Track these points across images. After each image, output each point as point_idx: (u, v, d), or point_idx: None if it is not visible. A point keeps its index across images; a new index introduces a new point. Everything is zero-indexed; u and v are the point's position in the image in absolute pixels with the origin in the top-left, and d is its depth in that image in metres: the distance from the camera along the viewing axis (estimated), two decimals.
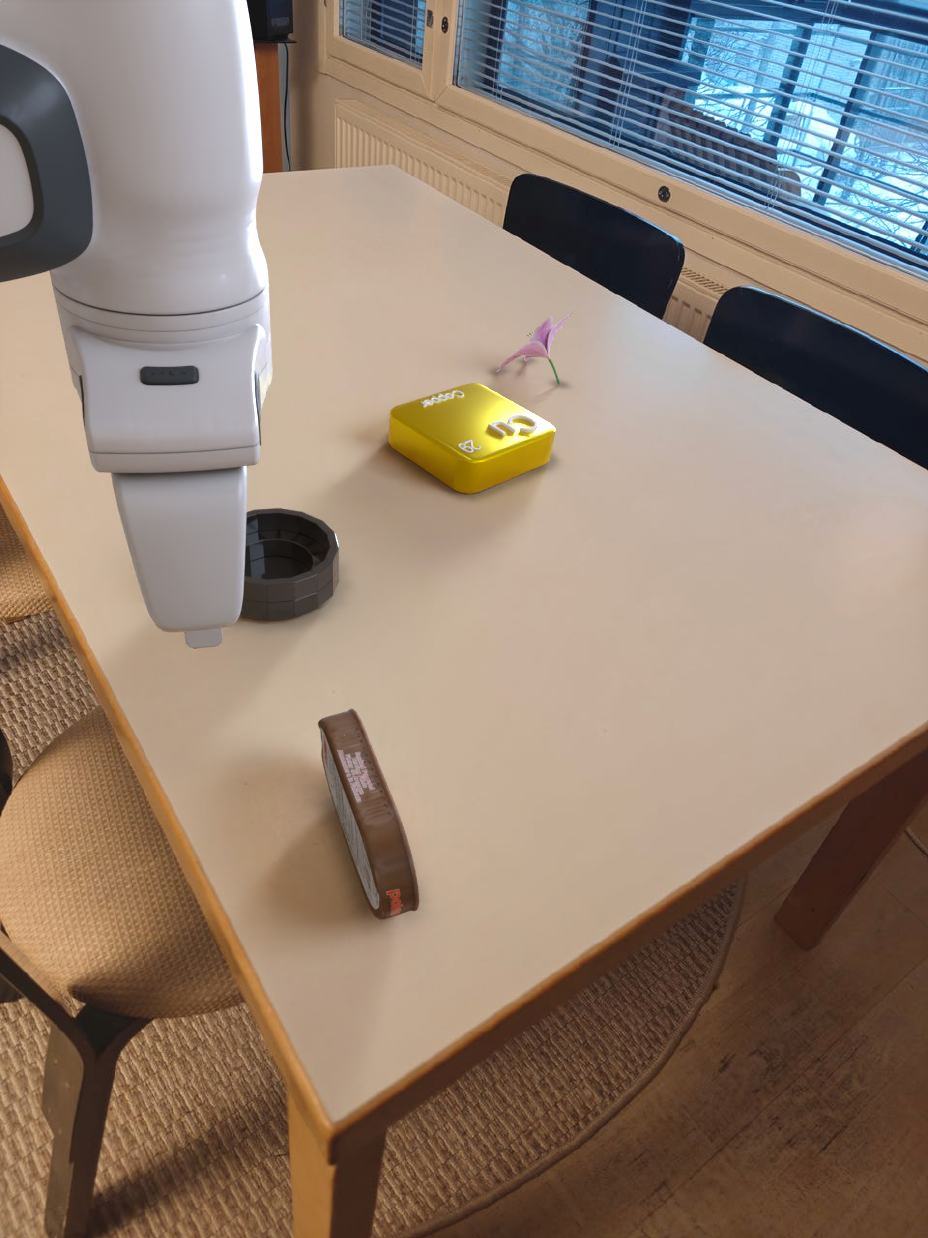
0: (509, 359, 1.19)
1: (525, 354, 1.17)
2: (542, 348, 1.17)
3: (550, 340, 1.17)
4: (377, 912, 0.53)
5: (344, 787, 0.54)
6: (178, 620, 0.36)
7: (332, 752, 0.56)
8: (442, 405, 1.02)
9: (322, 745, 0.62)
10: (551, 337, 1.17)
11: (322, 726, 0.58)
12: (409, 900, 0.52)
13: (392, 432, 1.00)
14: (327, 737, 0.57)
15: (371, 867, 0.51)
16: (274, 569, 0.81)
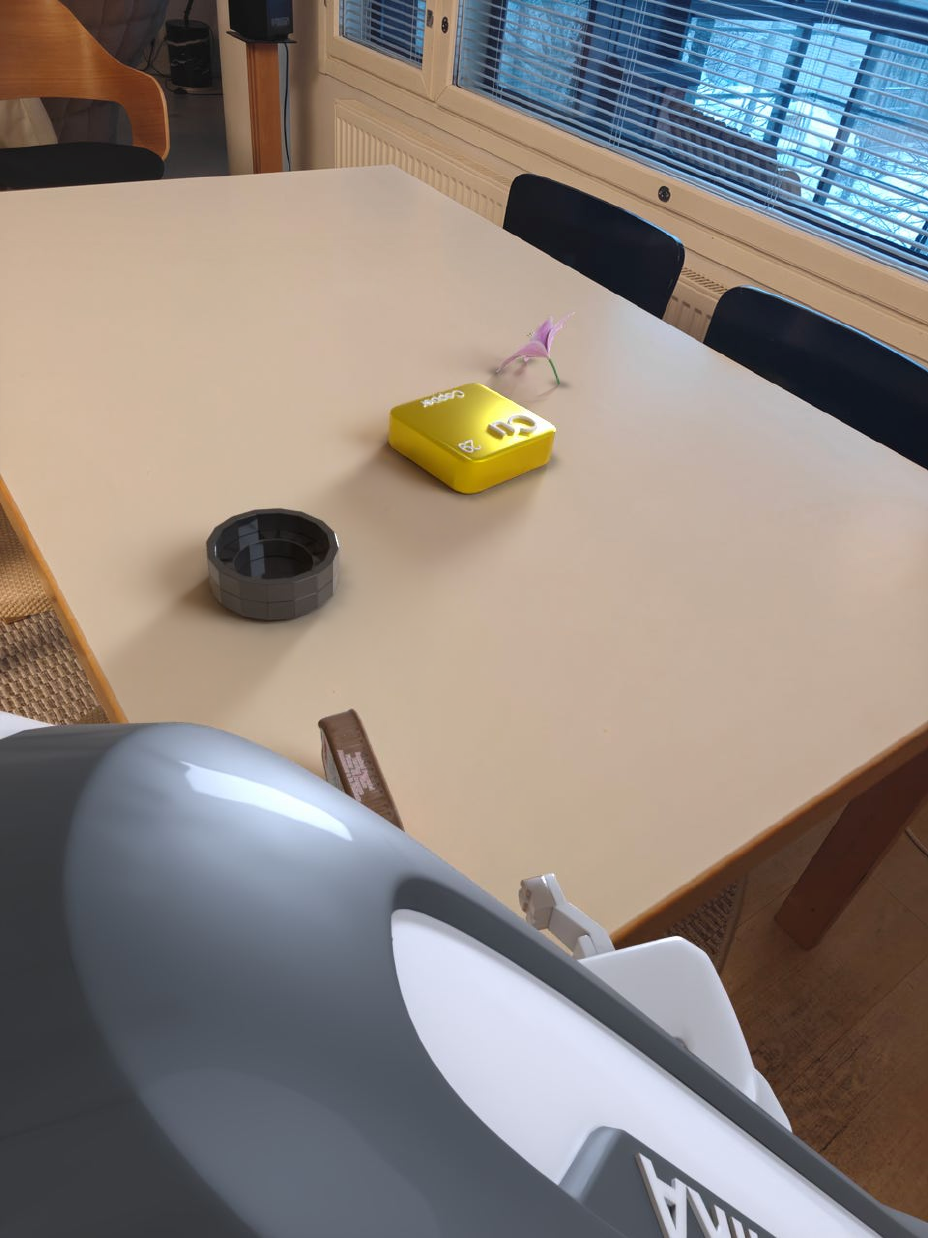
0: (509, 359, 1.19)
1: (525, 354, 1.17)
2: (542, 348, 1.17)
3: (550, 340, 1.17)
4: None
5: (344, 787, 0.54)
6: None
7: (332, 752, 0.56)
8: (442, 405, 1.02)
9: (322, 745, 0.62)
10: (551, 337, 1.17)
11: (322, 726, 0.58)
12: None
13: (392, 432, 1.00)
14: (327, 737, 0.57)
15: None
16: (274, 569, 0.81)
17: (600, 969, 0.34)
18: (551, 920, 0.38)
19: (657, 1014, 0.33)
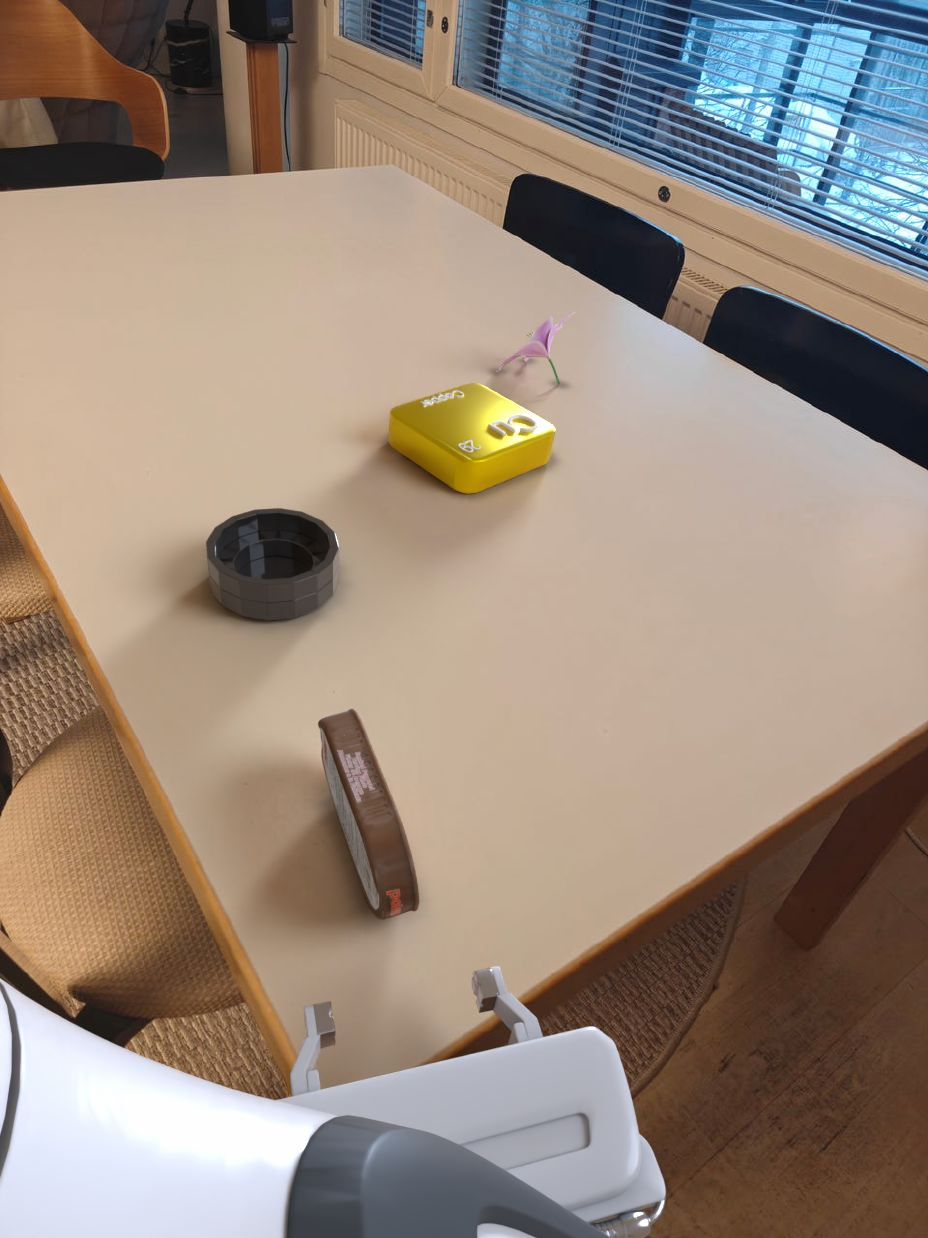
0: (509, 359, 1.19)
1: (525, 354, 1.17)
2: (542, 348, 1.17)
3: (550, 340, 1.17)
4: (377, 912, 0.53)
5: (344, 787, 0.54)
6: None
7: (332, 752, 0.56)
8: (442, 405, 1.02)
9: (322, 745, 0.62)
10: (551, 337, 1.17)
11: (322, 726, 0.58)
12: (409, 900, 0.52)
13: (392, 432, 1.00)
14: (327, 737, 0.57)
15: (371, 867, 0.51)
16: (274, 569, 0.81)
17: (528, 1054, 0.44)
18: (495, 1005, 0.47)
19: (569, 1093, 0.43)
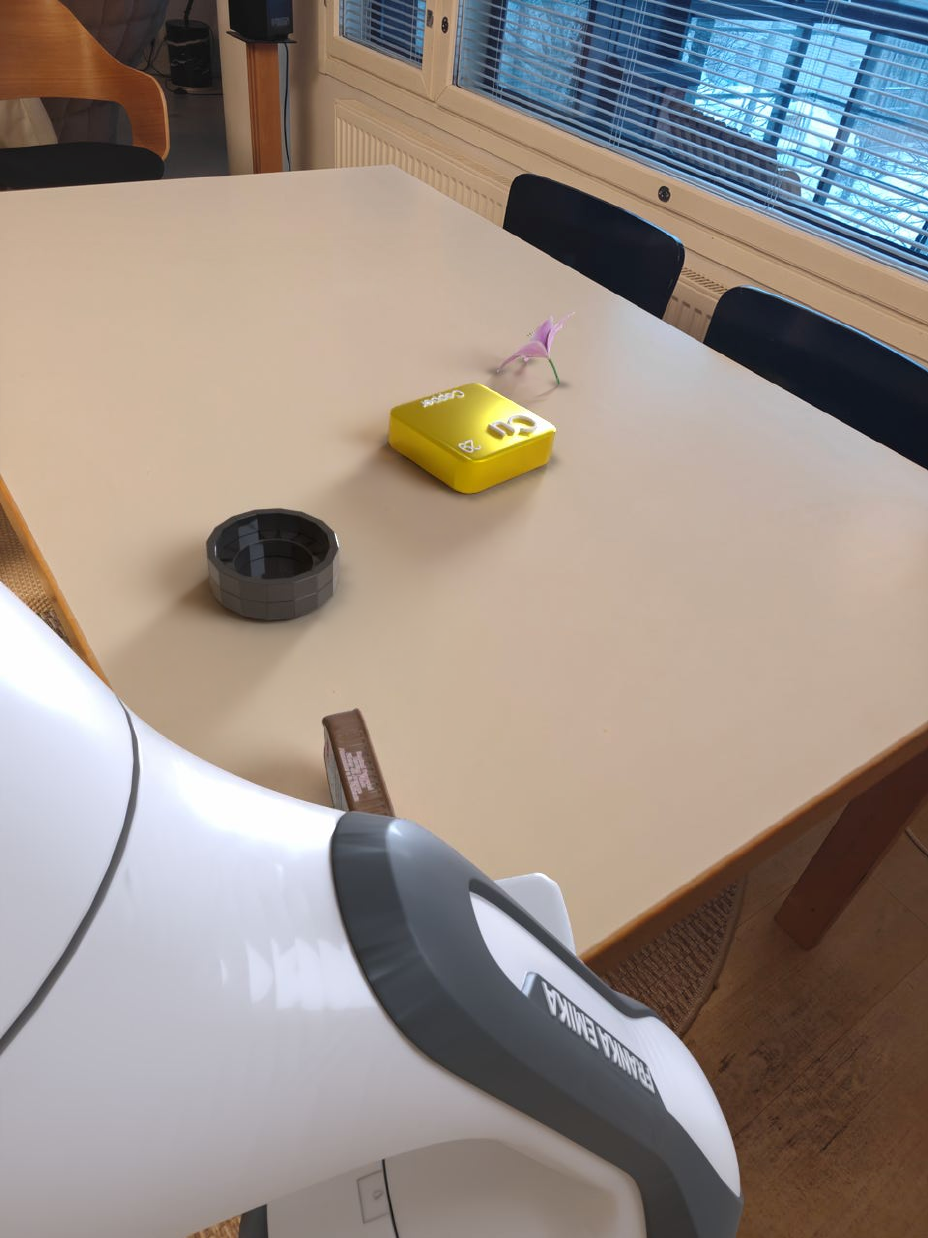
0: (509, 359, 1.19)
1: (525, 354, 1.17)
2: (542, 348, 1.17)
3: (550, 340, 1.17)
4: None
5: (343, 785, 0.54)
6: None
7: (333, 750, 0.56)
8: (442, 405, 1.02)
9: (325, 743, 0.62)
10: (551, 337, 1.17)
11: (325, 723, 0.58)
12: None
13: (392, 432, 1.00)
14: (330, 734, 0.57)
15: None
16: (274, 569, 0.81)
17: None
18: None
19: None
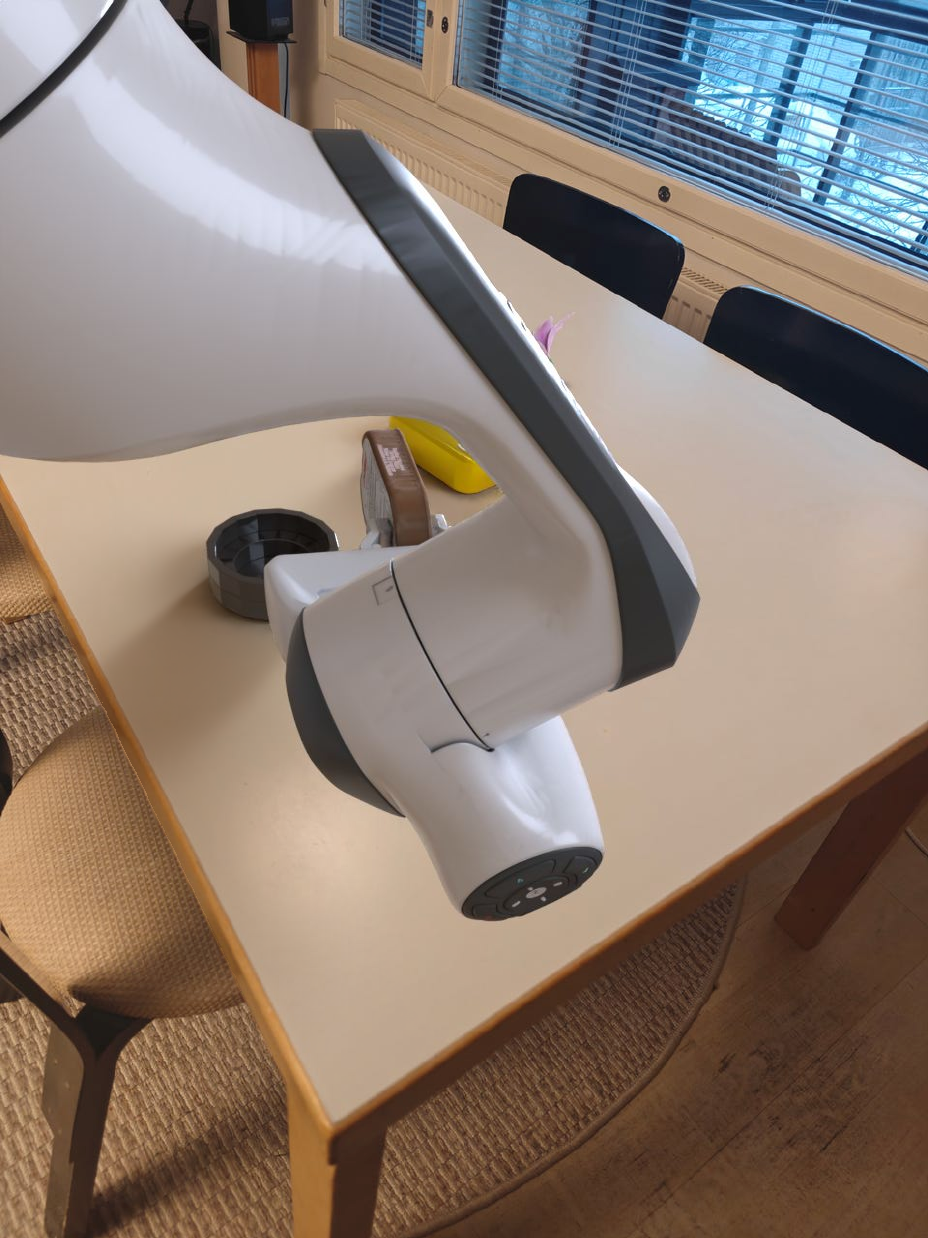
0: None
1: None
2: (542, 348, 1.17)
3: (550, 340, 1.17)
4: None
5: (379, 466, 0.60)
6: (264, 579, 0.53)
7: (372, 446, 0.63)
8: None
9: (362, 468, 0.69)
10: (551, 337, 1.17)
11: (366, 433, 0.65)
12: None
13: None
14: (369, 437, 0.63)
15: (394, 521, 0.57)
16: None
17: None
18: None
19: None
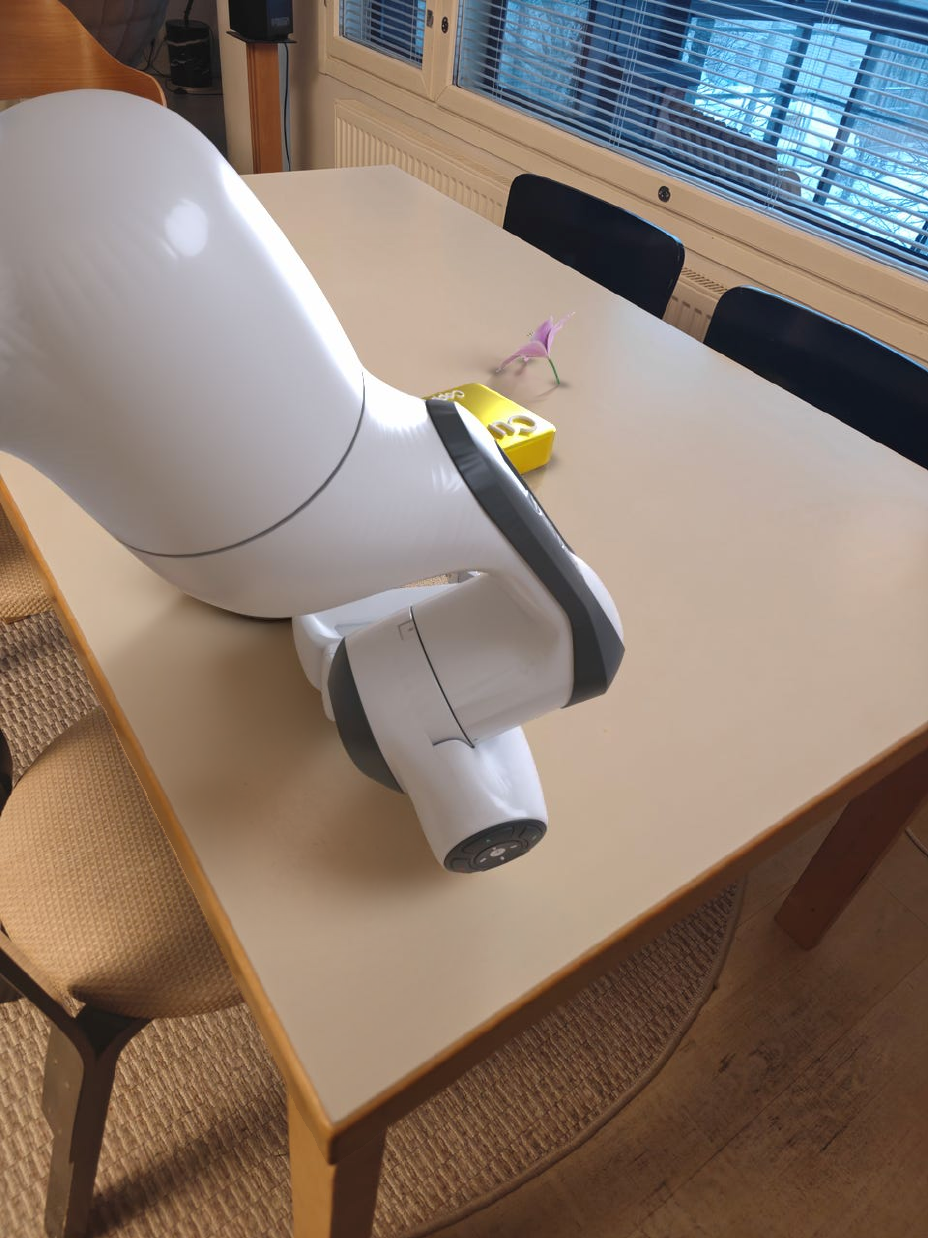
0: (509, 359, 1.19)
1: (525, 354, 1.17)
2: (542, 348, 1.17)
3: (550, 340, 1.17)
4: None
5: None
6: None
7: None
8: None
9: None
10: (551, 337, 1.17)
11: None
12: None
13: None
14: None
15: None
16: None
17: None
18: (459, 577, 0.75)
19: None
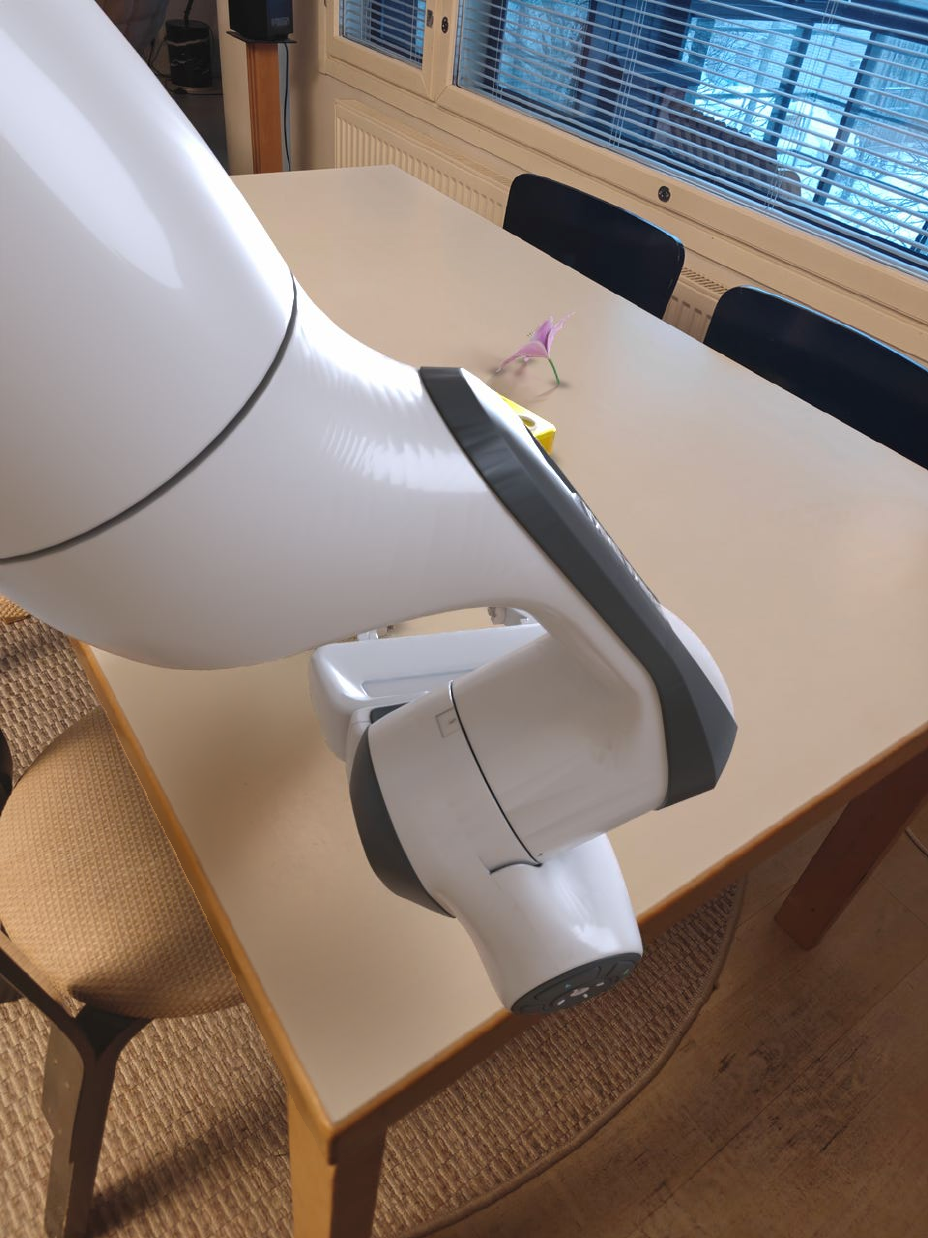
0: (509, 359, 1.19)
1: (525, 354, 1.17)
2: (542, 348, 1.17)
3: (550, 340, 1.17)
4: None
5: None
6: (309, 668, 0.56)
7: None
8: None
9: None
10: (551, 337, 1.17)
11: None
12: None
13: None
14: None
15: None
16: None
17: (530, 628, 0.60)
18: (505, 616, 0.63)
19: None
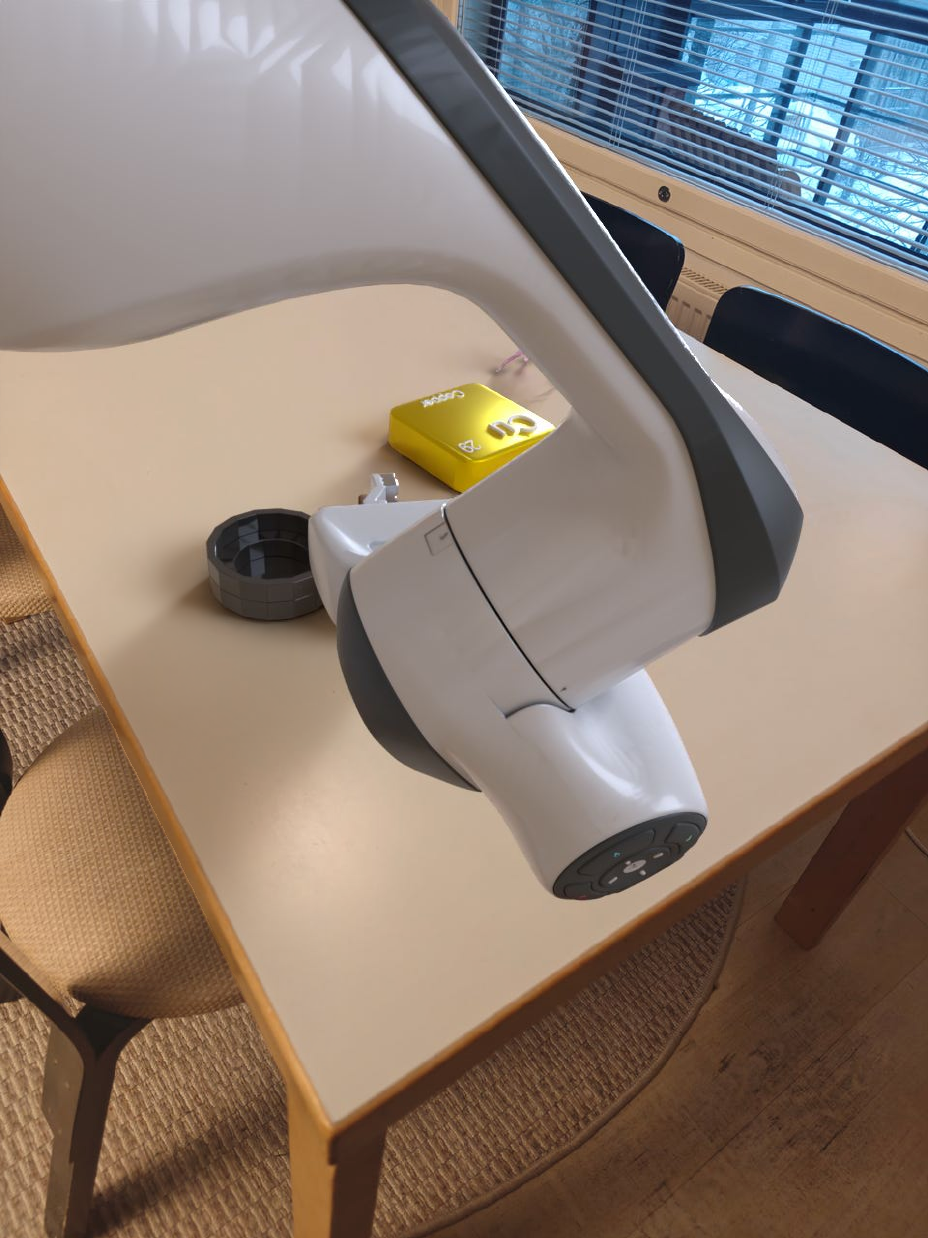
0: (509, 359, 1.19)
1: None
2: None
3: None
4: None
5: None
6: (309, 532, 0.49)
7: None
8: (442, 405, 1.02)
9: None
10: None
11: None
12: None
13: (392, 432, 1.00)
14: (358, 501, 0.78)
15: None
16: (274, 569, 0.81)
17: None
18: None
19: None
